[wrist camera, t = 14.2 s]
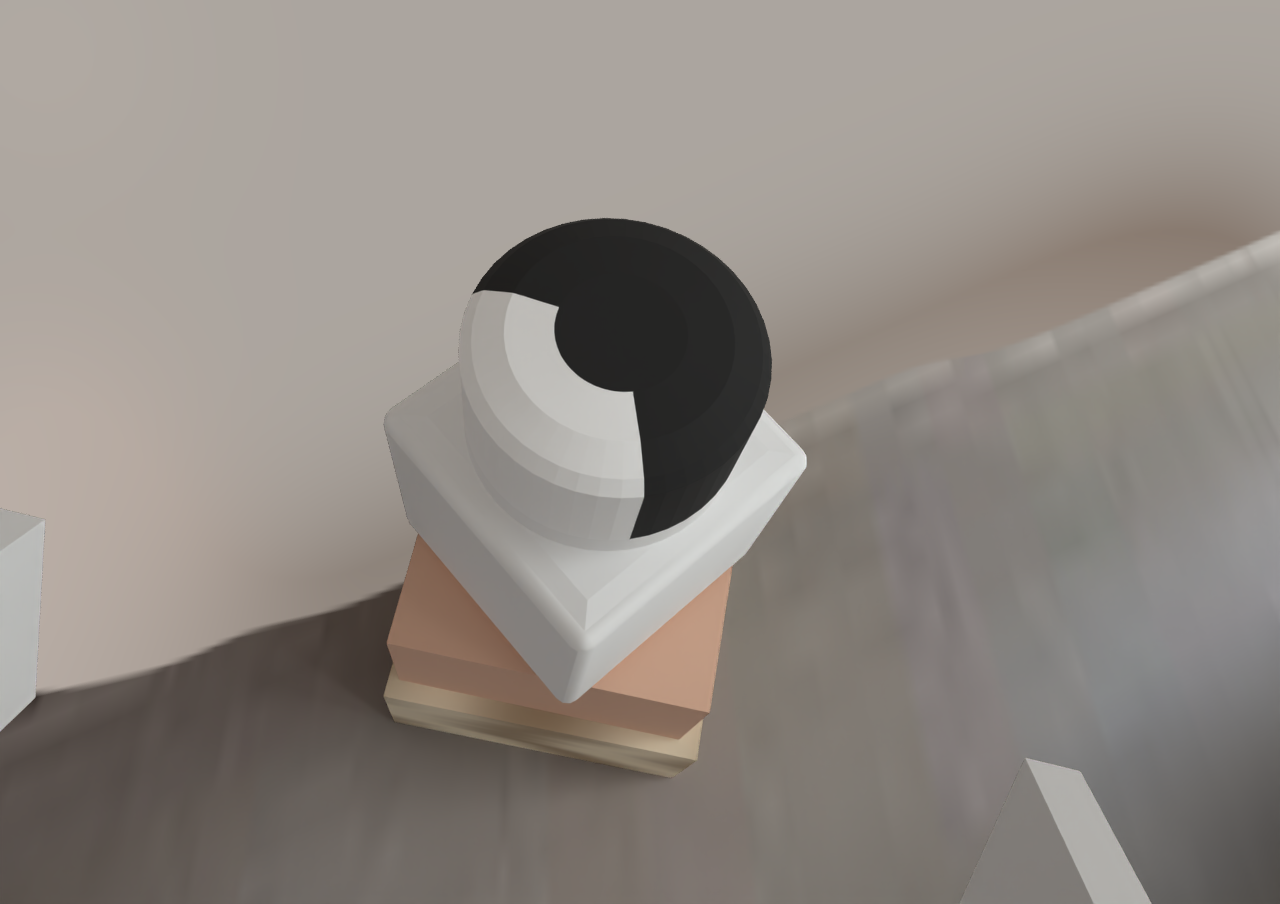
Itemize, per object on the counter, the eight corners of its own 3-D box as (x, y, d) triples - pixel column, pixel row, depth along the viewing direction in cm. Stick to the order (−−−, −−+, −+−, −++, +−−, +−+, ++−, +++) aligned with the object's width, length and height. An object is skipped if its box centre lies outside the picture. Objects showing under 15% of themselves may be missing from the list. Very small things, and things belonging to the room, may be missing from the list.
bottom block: (711, 521, 42) (739, 474, 38) (670, 778, 38) (696, 760, 34) (463, 467, 42) (461, 413, 37) (394, 722, 38) (383, 696, 33)
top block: (721, 482, 38) (754, 423, 33) (679, 739, 34) (709, 712, 29) (470, 425, 37) (468, 358, 33) (399, 679, 34) (386, 643, 29)
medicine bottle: (592, 377, 33) (637, 114, 22) (752, 549, 31) (886, 360, 20) (402, 517, 30) (345, 301, 19) (565, 711, 29) (602, 596, 18)
